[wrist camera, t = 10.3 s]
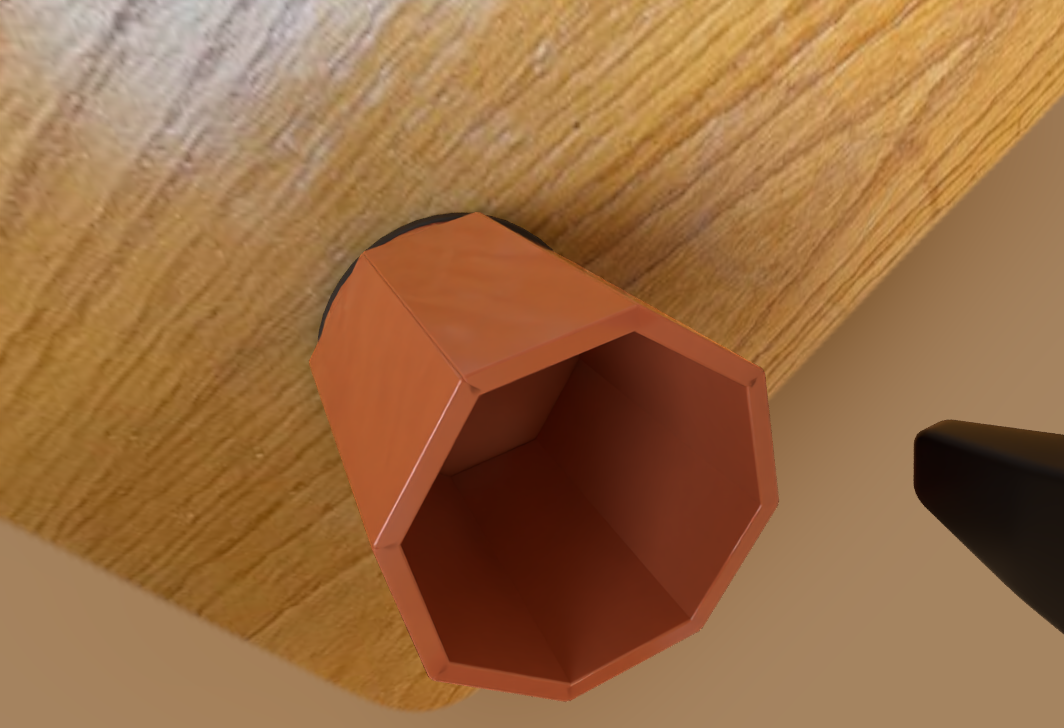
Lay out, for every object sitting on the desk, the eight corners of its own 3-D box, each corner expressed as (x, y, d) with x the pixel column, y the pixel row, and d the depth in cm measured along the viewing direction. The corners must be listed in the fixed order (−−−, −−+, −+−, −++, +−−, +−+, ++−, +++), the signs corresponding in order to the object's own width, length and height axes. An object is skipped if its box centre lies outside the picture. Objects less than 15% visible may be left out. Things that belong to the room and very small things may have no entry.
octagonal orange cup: (374, 514, 20) (464, 758, 13) (272, 277, 17) (320, 434, 10) (601, 413, 21) (789, 583, 14) (547, 181, 18) (753, 257, 11)
